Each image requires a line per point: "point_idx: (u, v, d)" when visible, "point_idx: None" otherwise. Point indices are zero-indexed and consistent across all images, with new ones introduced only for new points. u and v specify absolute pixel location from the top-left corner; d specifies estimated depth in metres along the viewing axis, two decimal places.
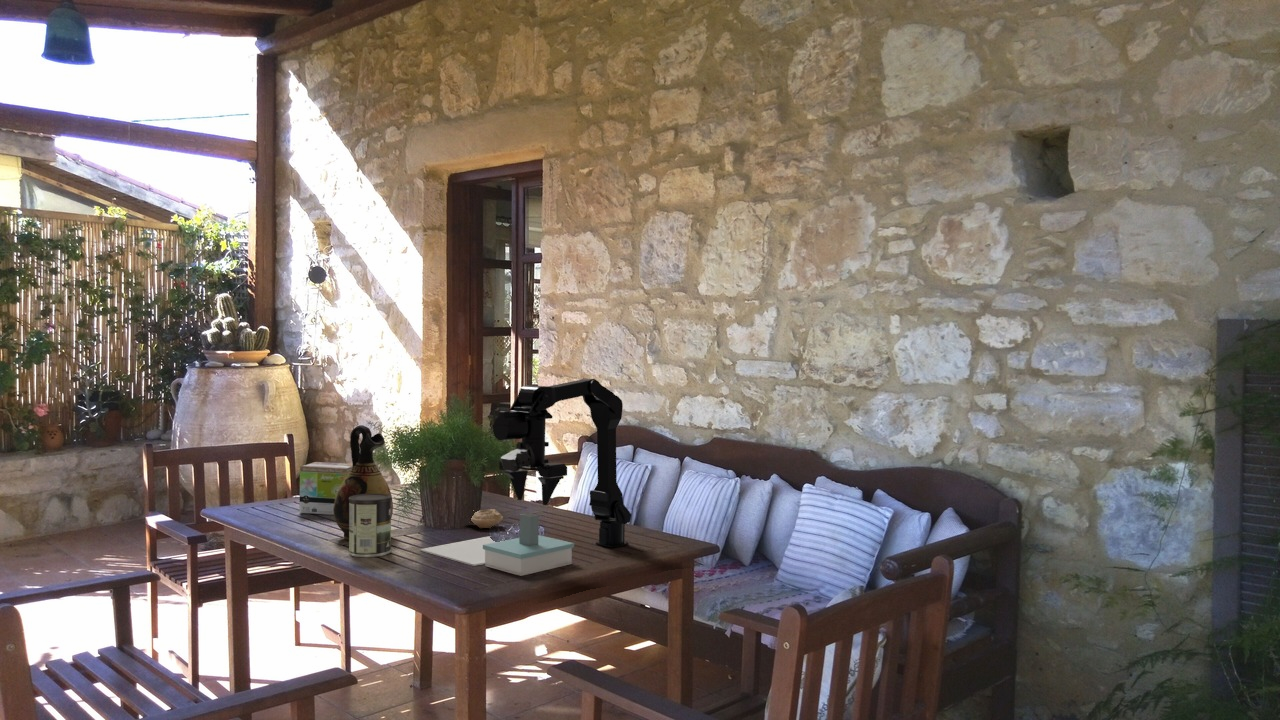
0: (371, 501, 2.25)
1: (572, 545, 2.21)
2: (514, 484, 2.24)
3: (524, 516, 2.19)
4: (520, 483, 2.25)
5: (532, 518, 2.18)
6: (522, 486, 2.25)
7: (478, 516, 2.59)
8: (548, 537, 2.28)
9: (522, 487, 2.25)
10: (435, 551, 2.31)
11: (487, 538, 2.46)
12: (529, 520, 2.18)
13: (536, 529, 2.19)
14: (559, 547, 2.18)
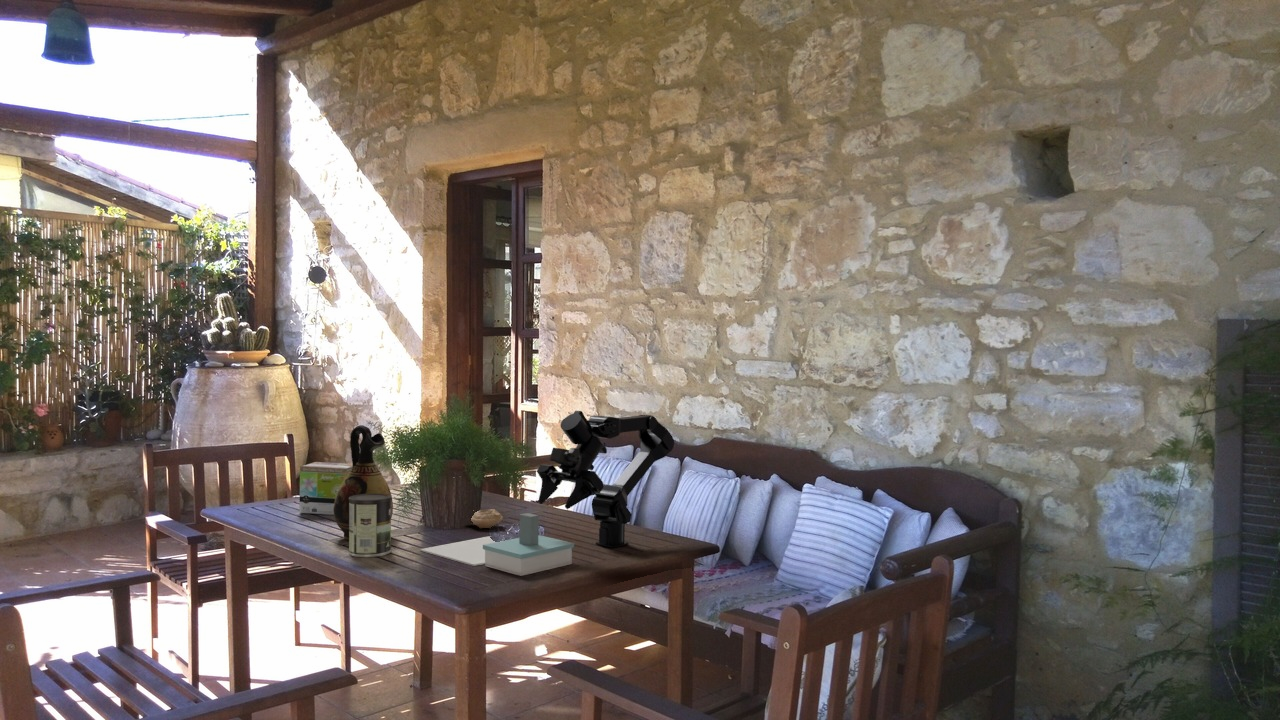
0: (371, 501, 2.25)
1: (572, 545, 2.21)
2: (543, 487, 2.30)
3: (524, 516, 2.19)
4: (548, 490, 2.31)
5: (532, 518, 2.18)
6: (547, 494, 2.31)
7: (478, 517, 2.59)
8: (548, 537, 2.28)
9: (547, 495, 2.30)
10: (435, 551, 2.31)
11: (487, 538, 2.46)
12: (529, 520, 2.18)
13: (536, 529, 2.19)
14: (559, 547, 2.18)
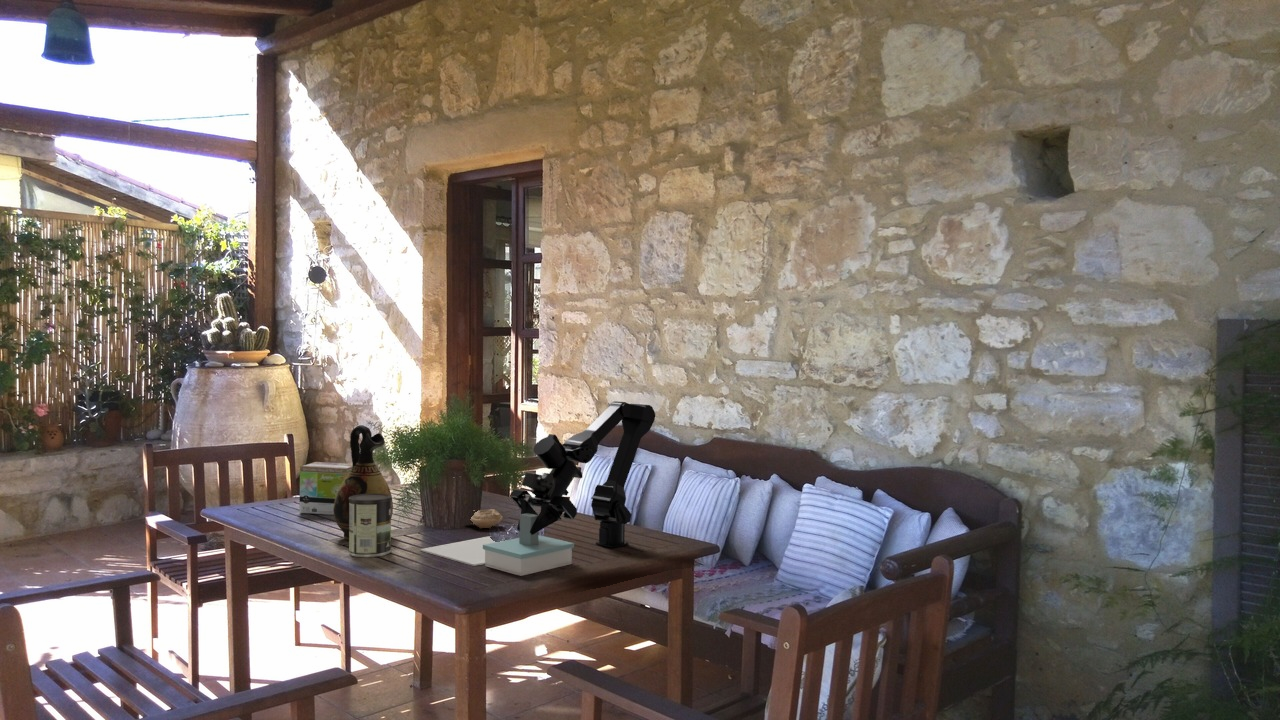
0: (371, 501, 2.25)
1: (572, 545, 2.21)
2: None
3: (524, 516, 2.19)
4: None
5: (532, 518, 2.18)
6: None
7: (478, 517, 2.59)
8: (548, 537, 2.28)
9: None
10: (435, 551, 2.31)
11: (487, 538, 2.46)
12: (529, 520, 2.18)
13: None
14: (559, 547, 2.18)
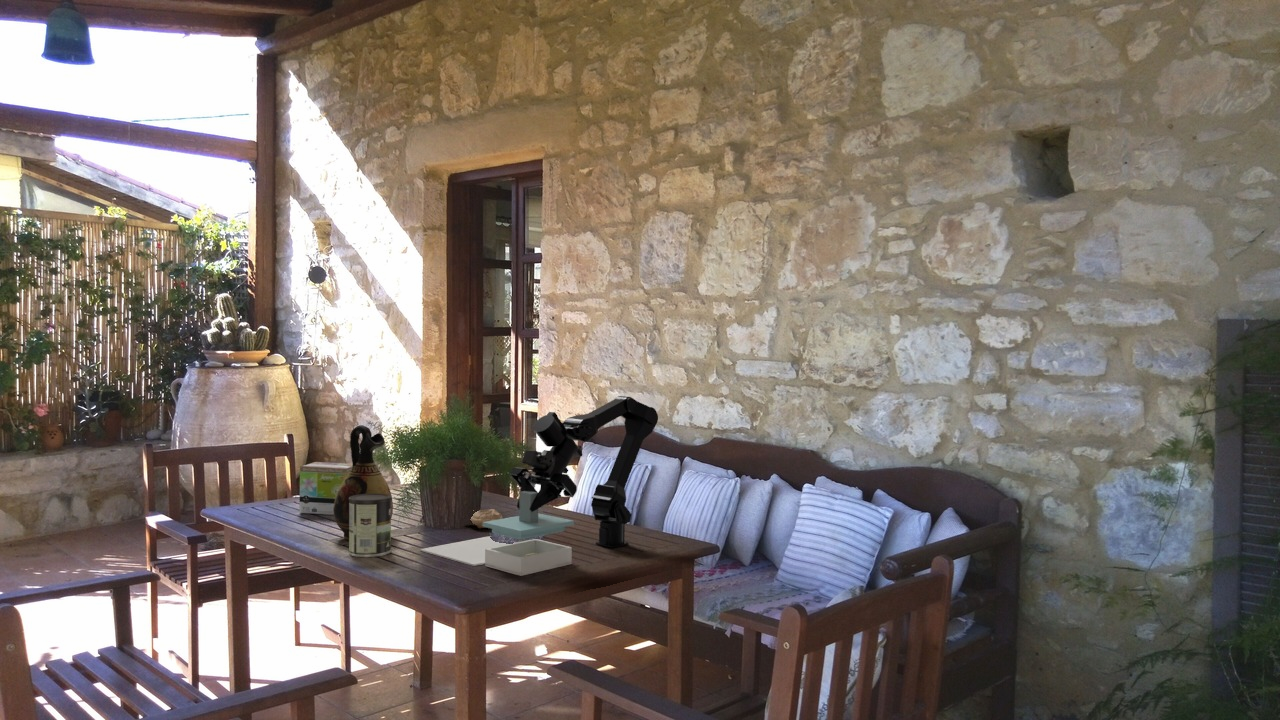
0: (371, 501, 2.25)
1: (572, 522, 2.21)
2: None
3: (524, 493, 2.19)
4: None
5: (532, 495, 2.18)
6: None
7: (478, 517, 2.59)
8: (548, 515, 2.28)
9: None
10: (435, 551, 2.31)
11: (487, 538, 2.46)
12: (529, 497, 2.18)
13: None
14: (559, 524, 2.18)
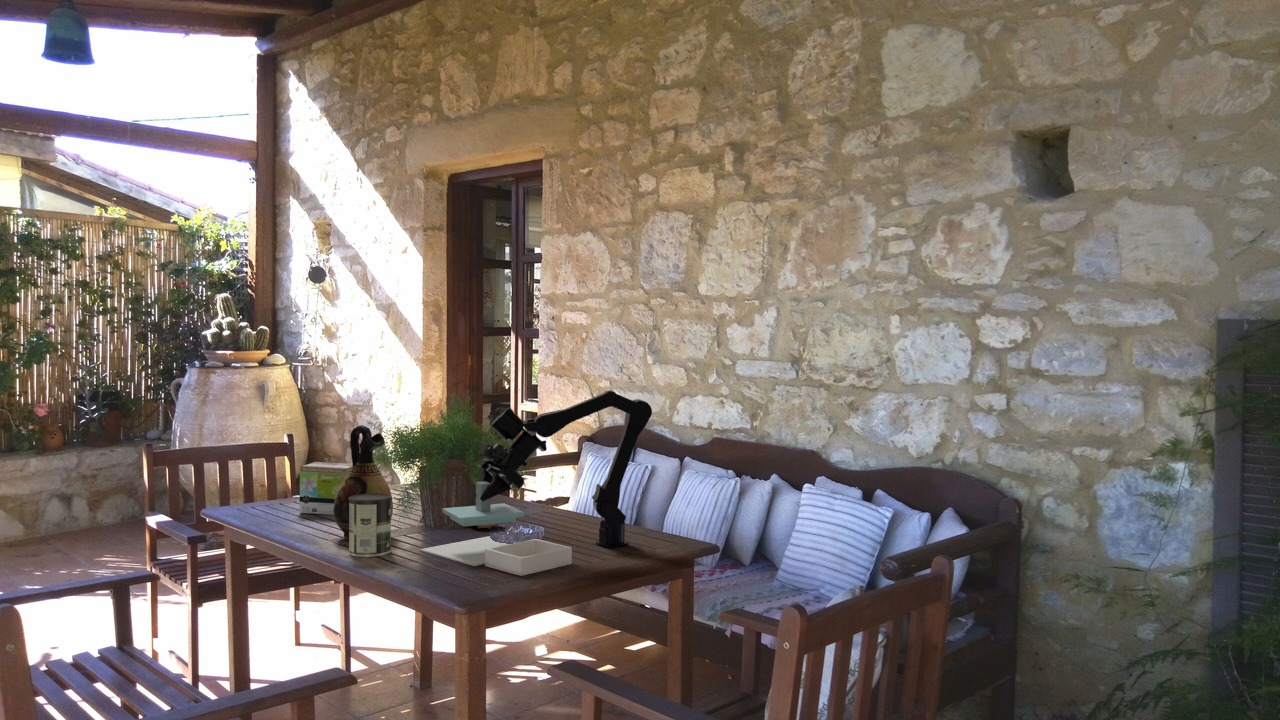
0: (371, 501, 2.25)
1: (522, 514, 2.31)
2: None
3: (478, 483, 2.32)
4: None
5: (483, 486, 2.30)
6: None
7: None
8: (510, 506, 2.39)
9: None
10: (435, 551, 2.31)
11: (487, 538, 2.46)
12: (480, 487, 2.31)
13: None
14: (506, 515, 2.28)
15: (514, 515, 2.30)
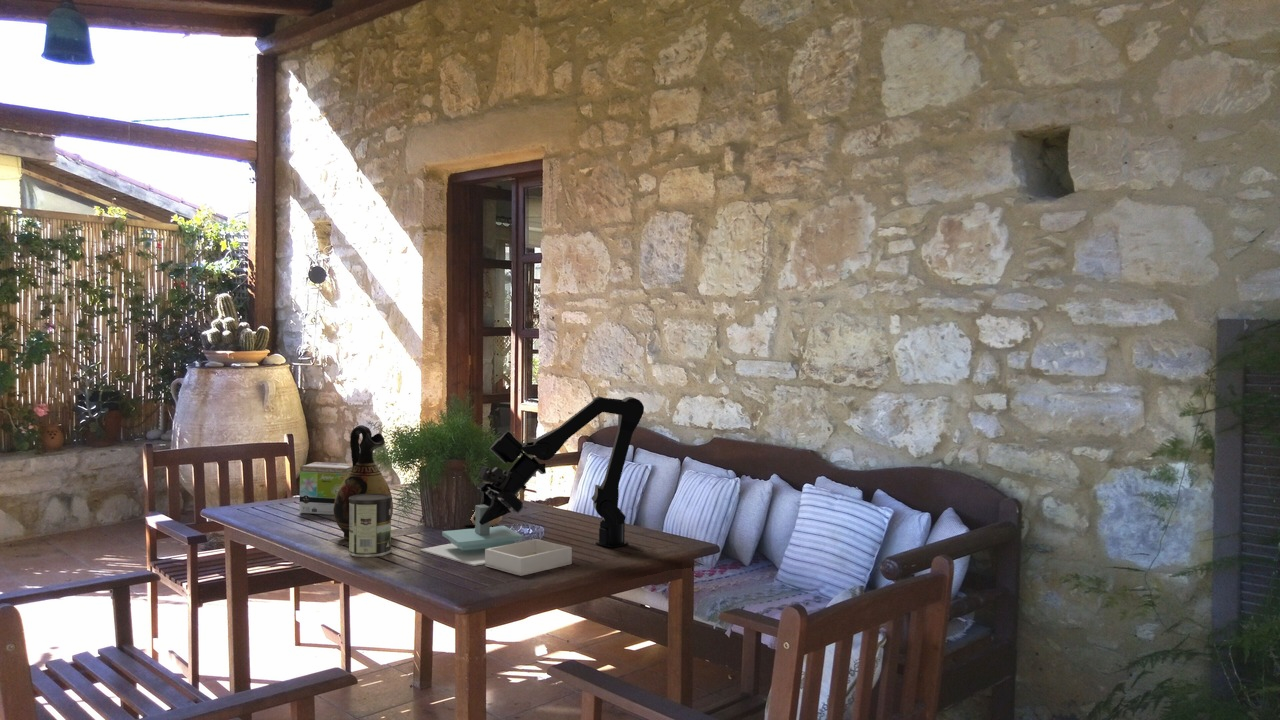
0: (371, 501, 2.25)
1: (521, 537, 2.31)
2: None
3: (477, 507, 2.33)
4: None
5: (482, 509, 2.31)
6: None
7: None
8: (510, 529, 2.39)
9: None
10: (435, 551, 2.31)
11: None
12: (479, 511, 2.31)
13: None
14: (505, 538, 2.29)
15: (513, 539, 2.30)
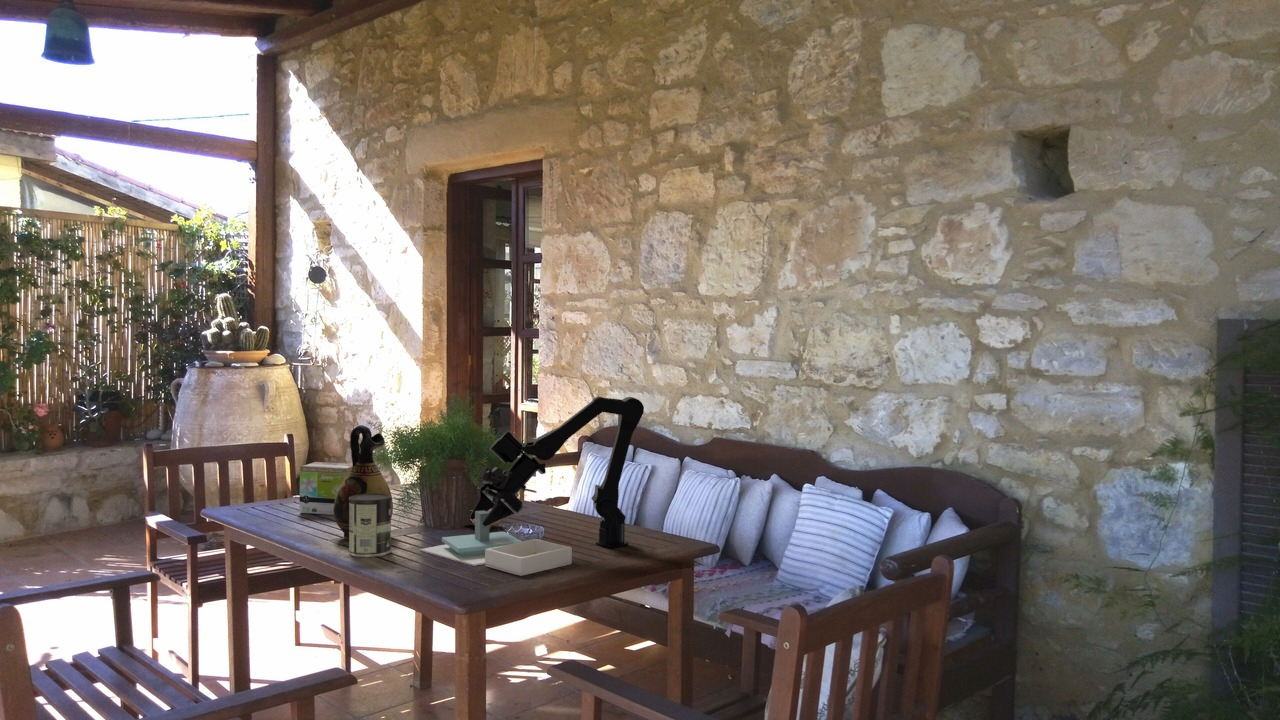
0: (371, 501, 2.25)
1: None
2: (477, 503, 2.38)
3: (477, 513, 2.33)
4: (482, 507, 2.38)
5: (482, 515, 2.31)
6: None
7: None
8: (509, 535, 2.39)
9: None
10: (435, 551, 2.31)
11: None
12: (479, 517, 2.31)
13: (487, 526, 2.32)
14: (505, 544, 2.29)
15: None
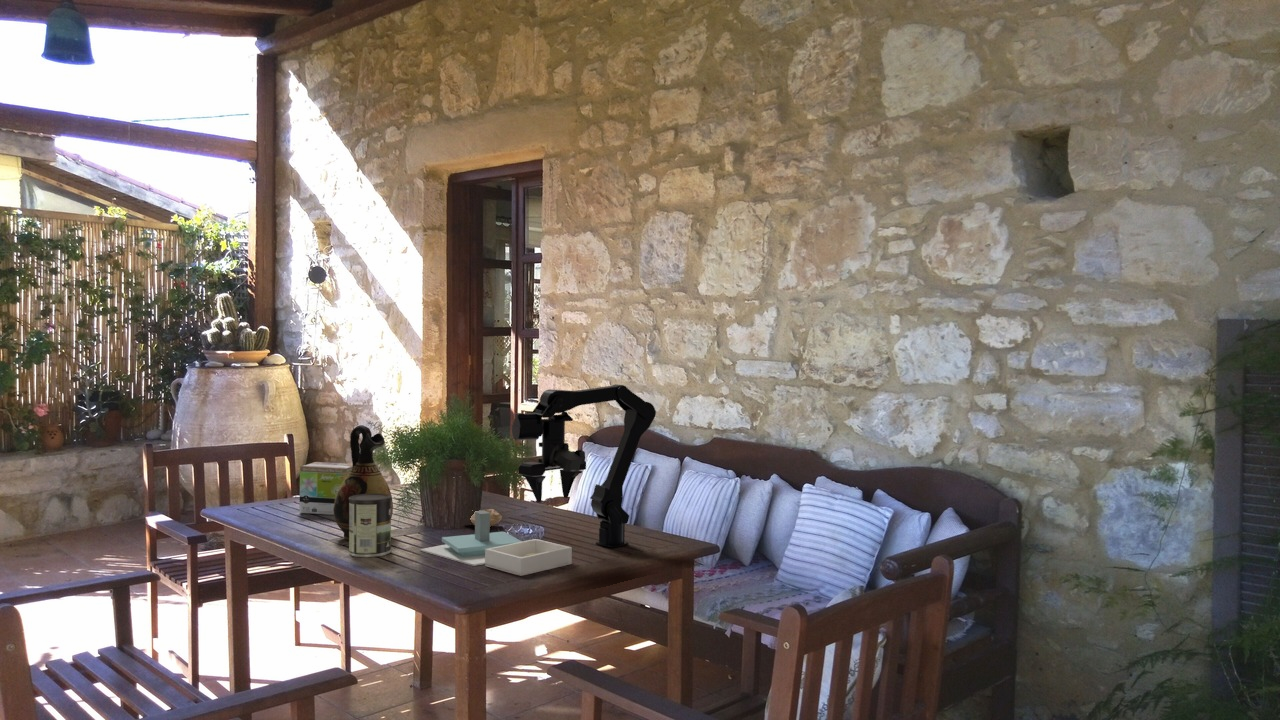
0: (371, 501, 2.25)
1: None
2: (540, 487, 2.30)
3: (477, 513, 2.33)
4: None
5: (482, 515, 2.31)
6: None
7: None
8: (509, 535, 2.39)
9: None
10: (435, 551, 2.31)
11: None
12: (479, 517, 2.31)
13: (487, 526, 2.32)
14: (505, 544, 2.29)
15: None
